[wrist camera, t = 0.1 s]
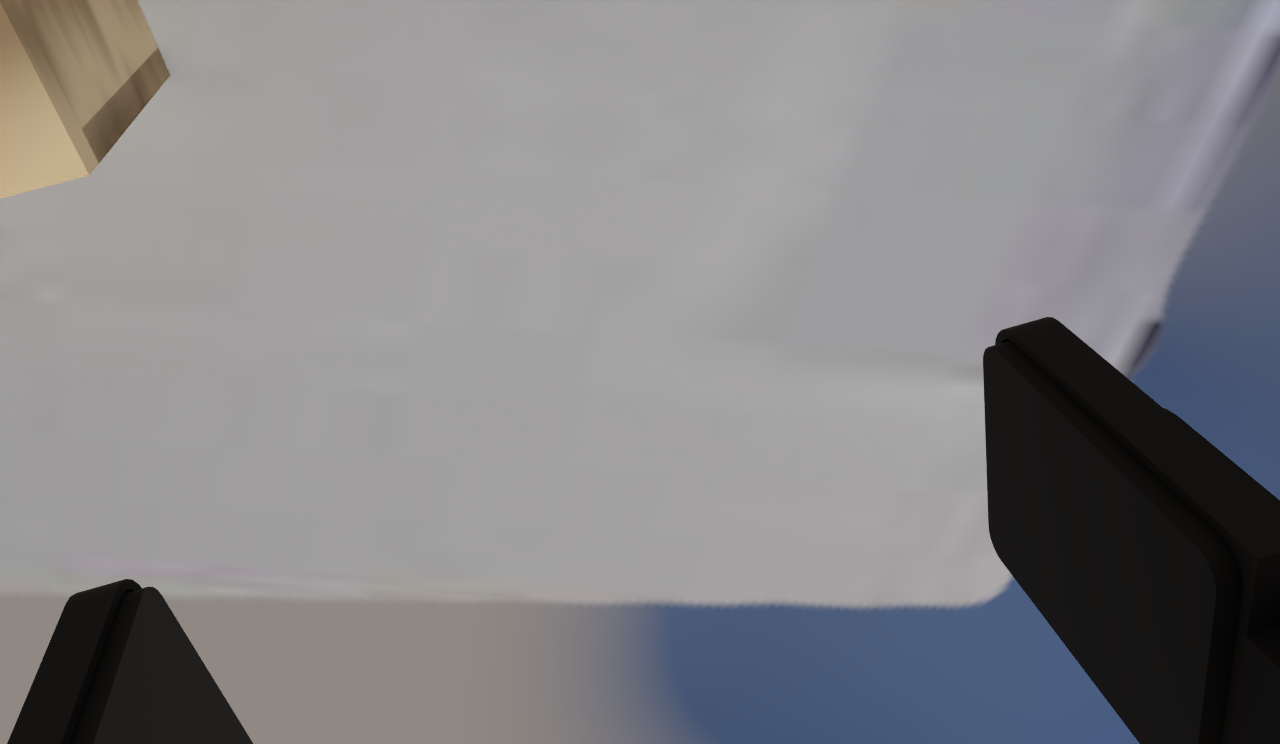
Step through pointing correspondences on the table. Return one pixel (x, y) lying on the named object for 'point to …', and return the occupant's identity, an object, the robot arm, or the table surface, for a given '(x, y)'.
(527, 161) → the table surface
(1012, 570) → the robot arm
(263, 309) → the table surface
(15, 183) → the box
